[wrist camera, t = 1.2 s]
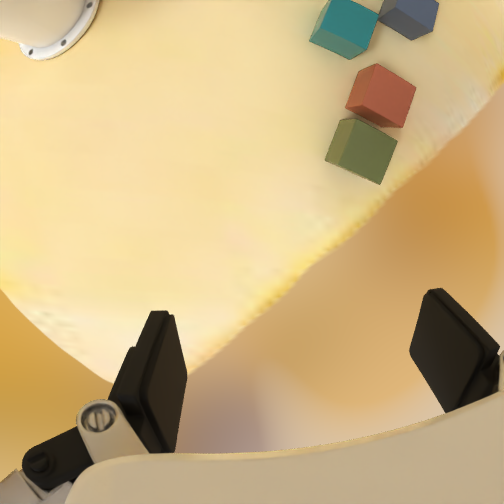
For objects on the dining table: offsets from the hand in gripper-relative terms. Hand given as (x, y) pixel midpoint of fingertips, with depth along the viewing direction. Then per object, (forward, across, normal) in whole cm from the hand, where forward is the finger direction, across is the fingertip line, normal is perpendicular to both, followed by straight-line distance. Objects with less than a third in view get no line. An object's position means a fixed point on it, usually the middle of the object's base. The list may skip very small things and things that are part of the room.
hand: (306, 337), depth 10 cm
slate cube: (+24, -18, -23) cm, 38 cm away
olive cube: (+24, -10, -5) cm, 27 cm away
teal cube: (+24, -9, -19) cm, 32 cm away
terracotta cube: (+24, -13, -11) cm, 30 cm away
